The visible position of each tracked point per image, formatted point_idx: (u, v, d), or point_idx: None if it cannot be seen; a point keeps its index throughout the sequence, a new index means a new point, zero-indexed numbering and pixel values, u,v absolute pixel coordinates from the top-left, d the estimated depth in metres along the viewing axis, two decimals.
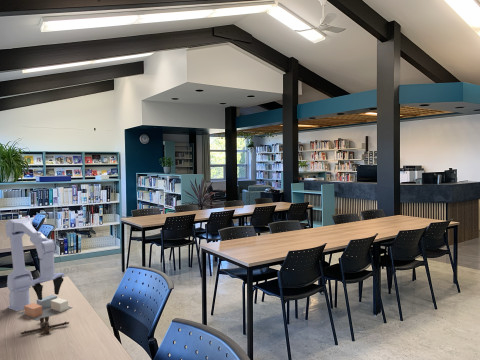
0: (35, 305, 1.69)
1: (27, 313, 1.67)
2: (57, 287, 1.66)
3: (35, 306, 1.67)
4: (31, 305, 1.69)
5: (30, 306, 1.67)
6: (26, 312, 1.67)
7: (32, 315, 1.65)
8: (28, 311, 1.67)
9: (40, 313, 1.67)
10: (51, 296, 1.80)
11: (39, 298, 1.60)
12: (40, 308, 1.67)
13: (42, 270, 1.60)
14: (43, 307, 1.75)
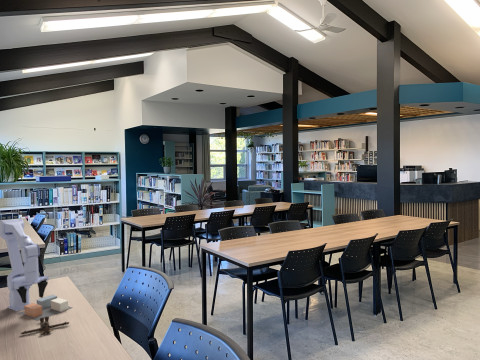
0: (35, 305, 1.69)
1: (27, 313, 1.67)
2: (41, 291, 1.70)
3: (35, 306, 1.67)
4: (31, 305, 1.69)
5: (30, 306, 1.67)
6: (26, 312, 1.67)
7: (32, 315, 1.65)
8: (28, 311, 1.67)
9: (40, 313, 1.67)
10: (51, 296, 1.80)
11: (23, 301, 1.64)
12: (40, 308, 1.67)
13: (26, 274, 1.65)
14: (43, 307, 1.75)
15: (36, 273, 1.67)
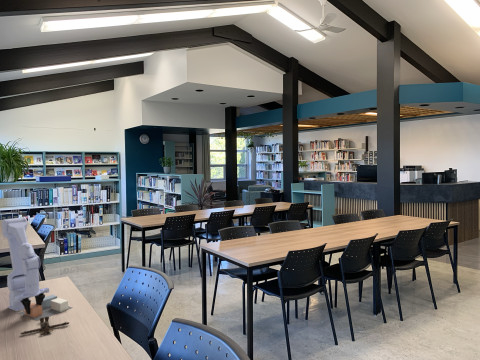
0: (35, 305, 1.69)
1: None
2: (39, 304, 1.69)
3: (35, 306, 1.67)
4: (31, 305, 1.69)
5: (30, 306, 1.67)
6: None
7: (32, 315, 1.65)
8: None
9: (40, 313, 1.67)
10: (51, 296, 1.80)
11: (27, 312, 1.66)
12: (40, 308, 1.67)
13: (27, 286, 1.65)
14: (43, 307, 1.75)
15: (37, 285, 1.67)
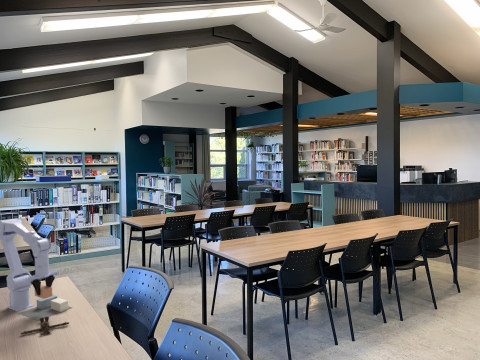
0: (45, 287, 1.71)
1: None
2: (49, 285, 1.71)
3: (45, 288, 1.69)
4: (41, 287, 1.71)
5: (40, 288, 1.69)
6: None
7: (42, 296, 1.67)
8: None
9: (50, 294, 1.69)
10: (51, 296, 1.80)
11: (38, 294, 1.68)
12: (50, 289, 1.69)
13: (37, 268, 1.67)
14: (43, 307, 1.75)
15: (47, 267, 1.69)
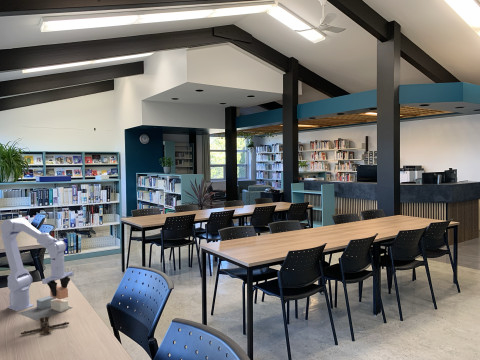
0: (61, 288, 1.74)
1: None
2: (64, 286, 1.75)
3: (61, 289, 1.73)
4: (57, 288, 1.74)
5: (56, 289, 1.73)
6: None
7: (58, 297, 1.71)
8: None
9: (66, 295, 1.73)
10: None
11: (54, 294, 1.71)
12: (66, 290, 1.73)
13: (53, 269, 1.71)
14: (43, 307, 1.75)
15: (62, 269, 1.73)
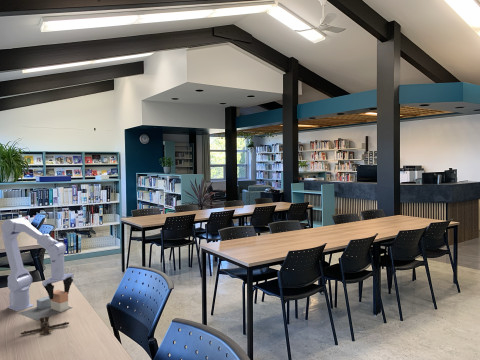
0: (61, 292, 1.74)
1: (53, 299, 1.73)
2: (67, 287, 1.76)
3: (61, 292, 1.73)
4: (57, 292, 1.74)
5: (56, 293, 1.73)
6: (53, 298, 1.73)
7: (58, 301, 1.71)
8: (54, 297, 1.72)
9: (66, 299, 1.73)
10: None
11: (50, 297, 1.70)
12: (66, 294, 1.73)
13: (53, 271, 1.71)
14: (43, 307, 1.75)
15: (62, 270, 1.73)
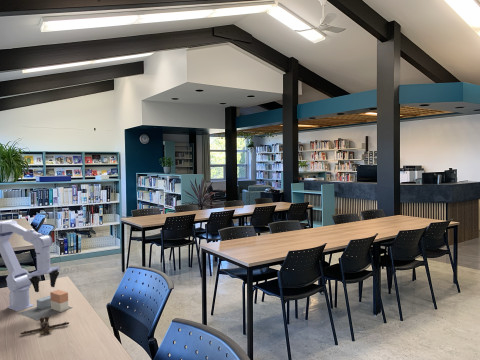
0: (61, 292, 1.74)
1: (53, 299, 1.73)
2: (53, 280, 1.75)
3: (61, 292, 1.73)
4: (57, 292, 1.74)
5: (56, 293, 1.73)
6: (53, 298, 1.73)
7: (58, 301, 1.71)
8: (54, 297, 1.72)
9: (66, 299, 1.73)
10: None
11: (36, 290, 1.69)
12: (66, 294, 1.73)
13: (39, 264, 1.69)
14: (43, 307, 1.75)
15: (48, 263, 1.71)
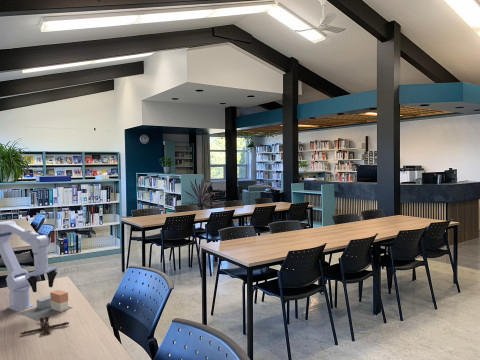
0: (61, 292, 1.74)
1: (53, 299, 1.73)
2: (51, 280, 1.75)
3: (61, 292, 1.73)
4: (57, 292, 1.74)
5: (56, 293, 1.73)
6: (53, 298, 1.73)
7: (58, 301, 1.71)
8: (54, 297, 1.72)
9: (66, 299, 1.73)
10: None
11: (34, 290, 1.69)
12: (66, 294, 1.73)
13: (36, 264, 1.69)
14: (43, 307, 1.75)
15: (46, 263, 1.71)
